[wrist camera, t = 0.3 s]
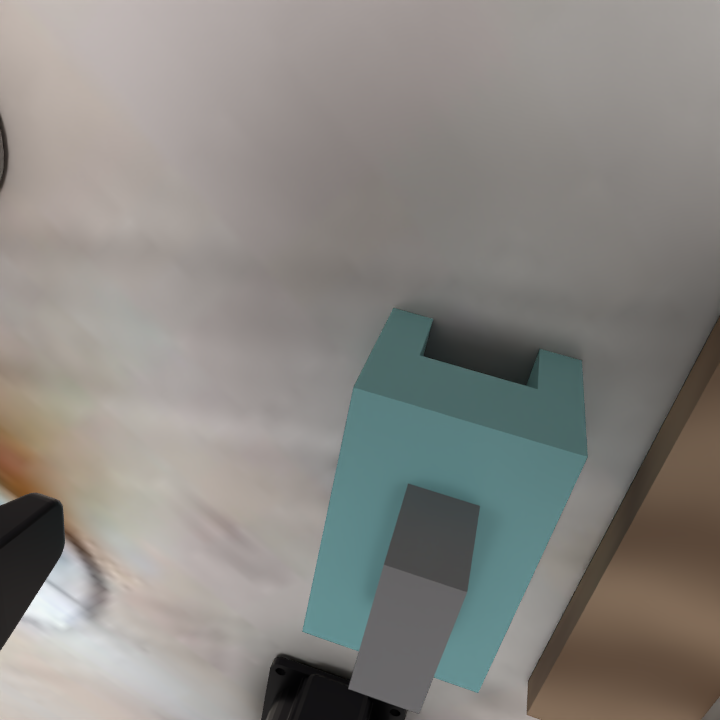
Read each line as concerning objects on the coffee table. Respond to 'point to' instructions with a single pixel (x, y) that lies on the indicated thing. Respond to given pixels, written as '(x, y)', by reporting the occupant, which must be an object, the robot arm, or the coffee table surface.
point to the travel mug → (1, 156)
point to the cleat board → (650, 584)
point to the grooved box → (440, 511)
